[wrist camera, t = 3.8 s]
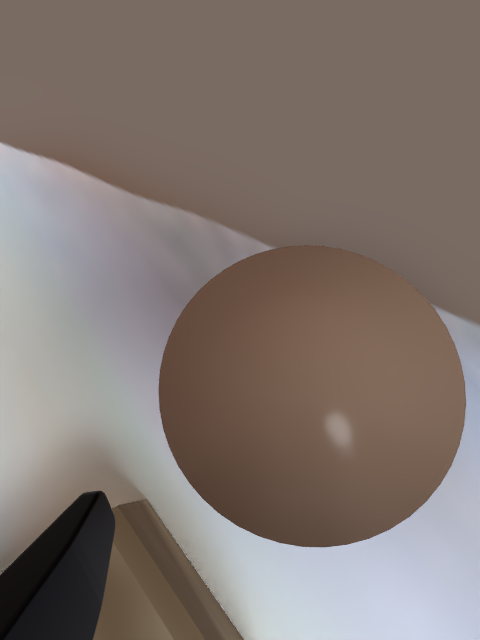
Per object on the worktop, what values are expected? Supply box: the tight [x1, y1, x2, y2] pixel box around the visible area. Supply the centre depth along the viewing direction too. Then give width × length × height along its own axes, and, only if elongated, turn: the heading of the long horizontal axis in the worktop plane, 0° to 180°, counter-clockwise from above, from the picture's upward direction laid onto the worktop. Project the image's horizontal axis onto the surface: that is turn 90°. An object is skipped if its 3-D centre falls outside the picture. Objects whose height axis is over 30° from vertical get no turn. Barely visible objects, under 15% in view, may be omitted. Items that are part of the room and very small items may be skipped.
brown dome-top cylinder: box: [159, 246, 466, 547], centre depth 12 cm, size 5×5×12 cm
